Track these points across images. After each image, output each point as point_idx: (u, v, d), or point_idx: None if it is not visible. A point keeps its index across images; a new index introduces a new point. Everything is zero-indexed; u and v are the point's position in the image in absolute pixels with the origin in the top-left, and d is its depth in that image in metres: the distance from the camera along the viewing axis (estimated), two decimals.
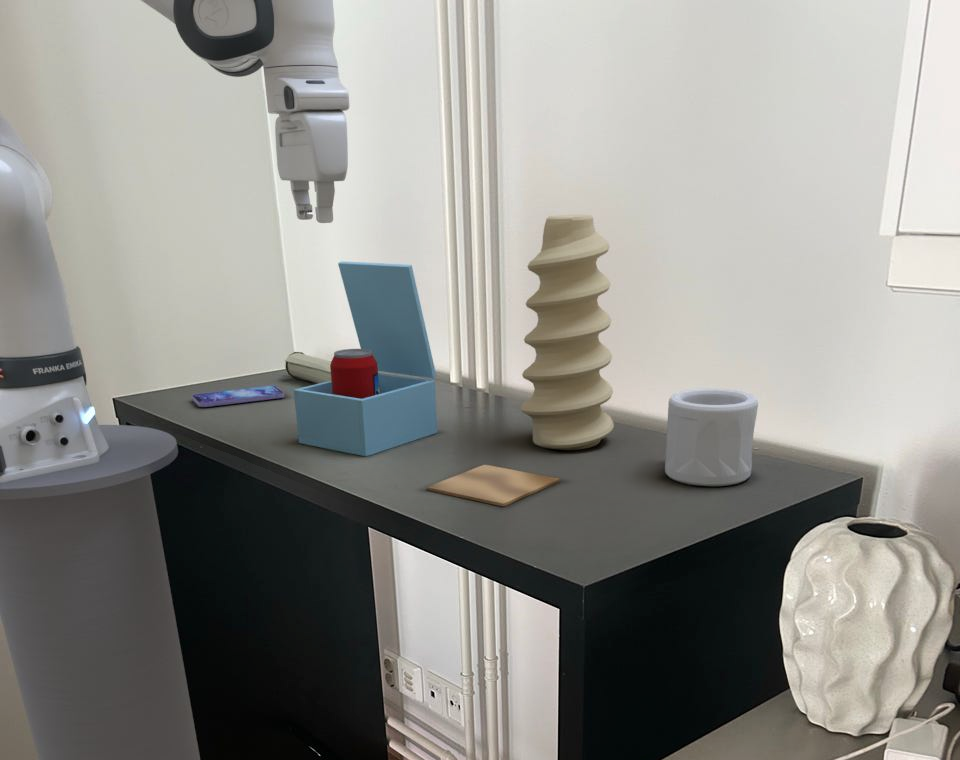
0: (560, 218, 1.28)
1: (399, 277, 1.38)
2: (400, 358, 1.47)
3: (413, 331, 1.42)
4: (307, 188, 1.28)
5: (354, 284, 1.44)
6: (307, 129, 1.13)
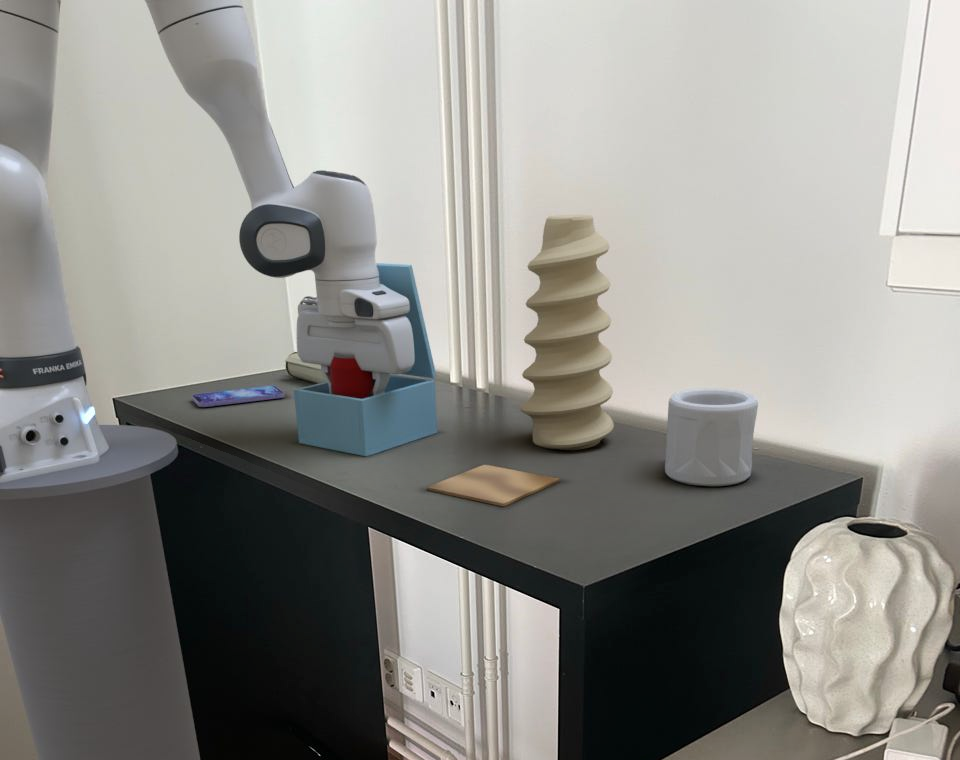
0: (560, 218, 1.28)
1: (399, 277, 1.38)
2: None
3: (413, 331, 1.42)
4: None
5: None
6: (388, 334, 1.33)
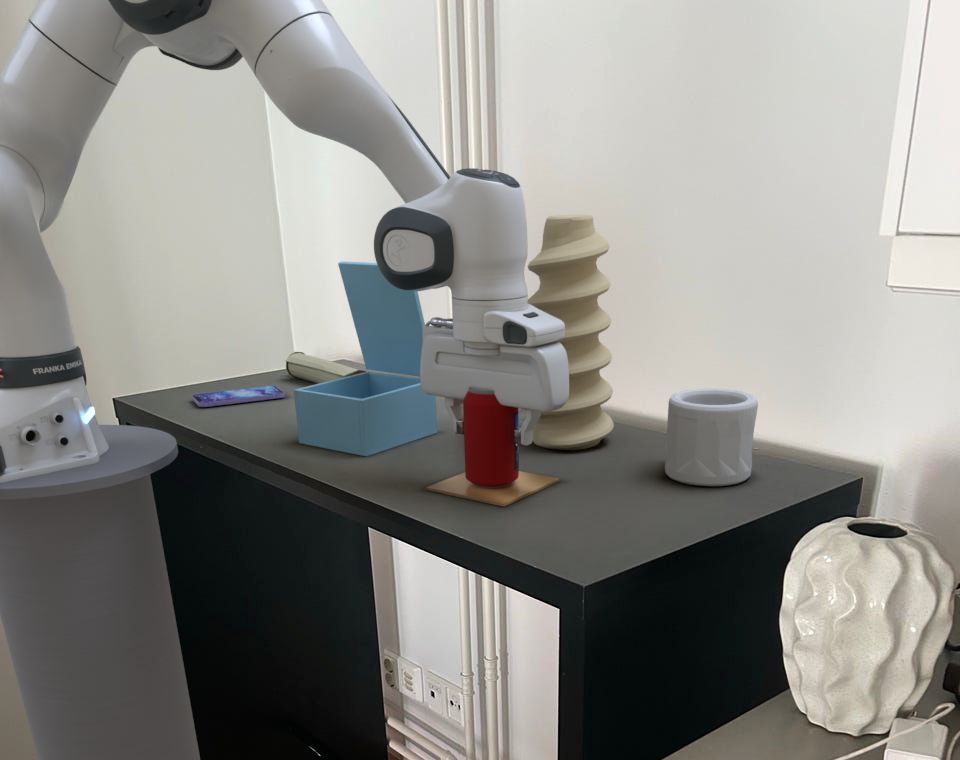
0: (560, 218, 1.28)
1: None
2: (400, 358, 1.47)
3: (413, 331, 1.42)
4: (462, 402, 1.24)
5: (354, 284, 1.44)
6: (543, 365, 1.11)
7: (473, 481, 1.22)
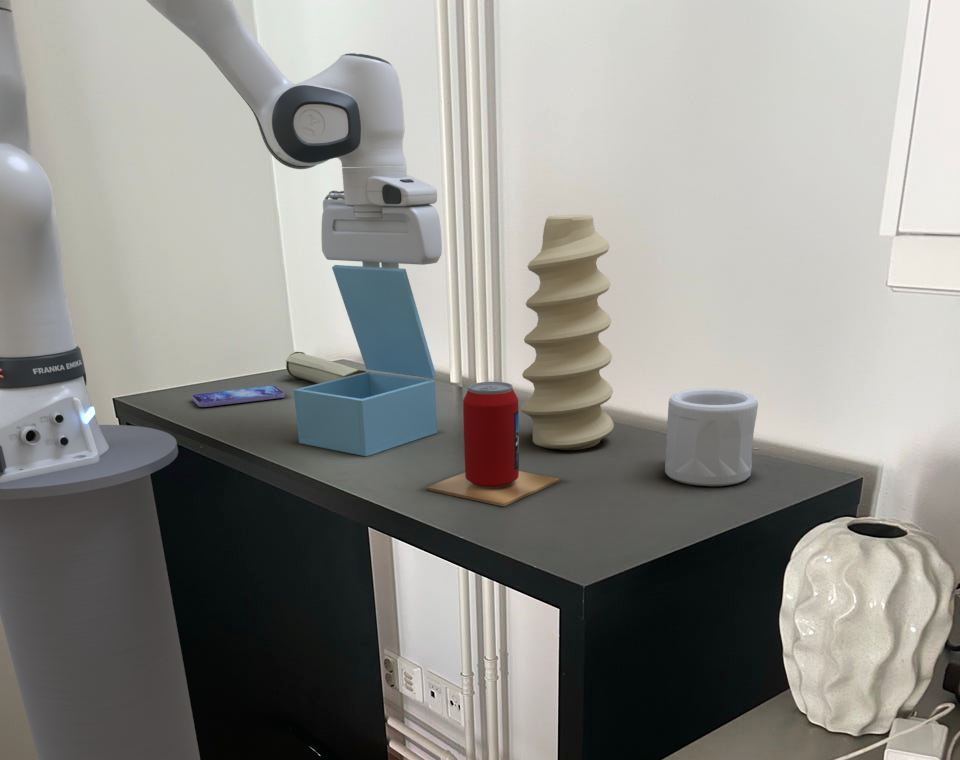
0: (560, 218, 1.28)
1: (394, 281, 1.37)
2: (399, 359, 1.47)
3: (410, 333, 1.42)
4: None
5: (349, 288, 1.43)
6: (416, 221, 1.32)
7: (473, 481, 1.22)
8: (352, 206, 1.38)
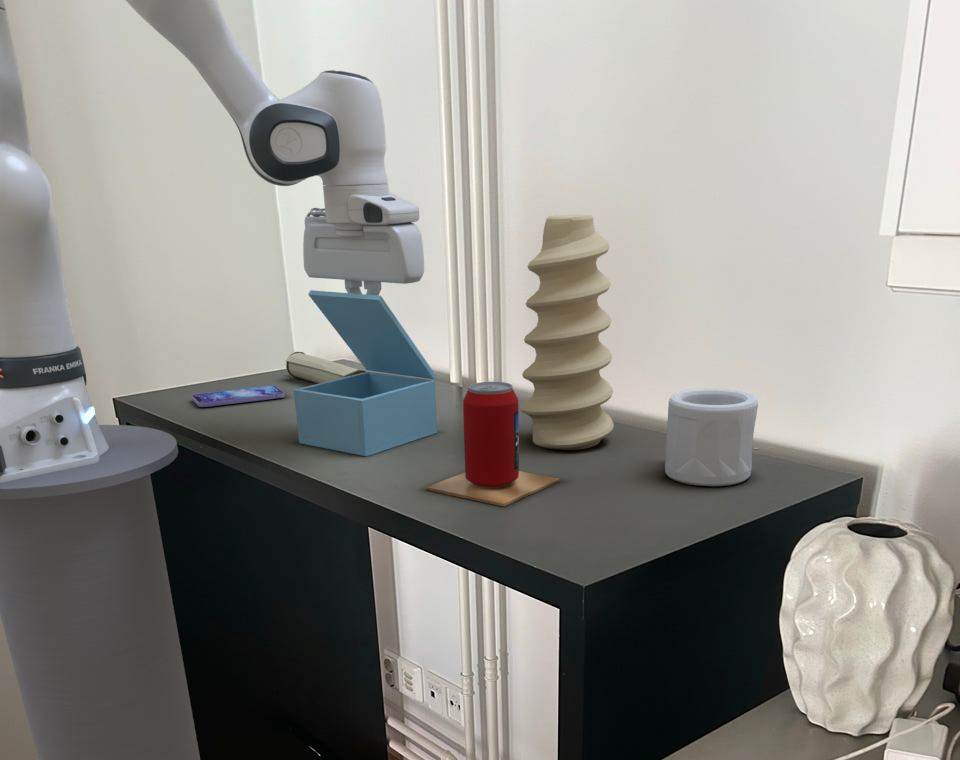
0: (560, 218, 1.28)
1: (372, 307, 1.35)
2: (396, 364, 1.47)
3: (401, 345, 1.41)
4: (361, 285, 1.41)
5: (330, 310, 1.42)
6: (397, 240, 1.30)
7: (473, 481, 1.22)
8: (334, 224, 1.36)
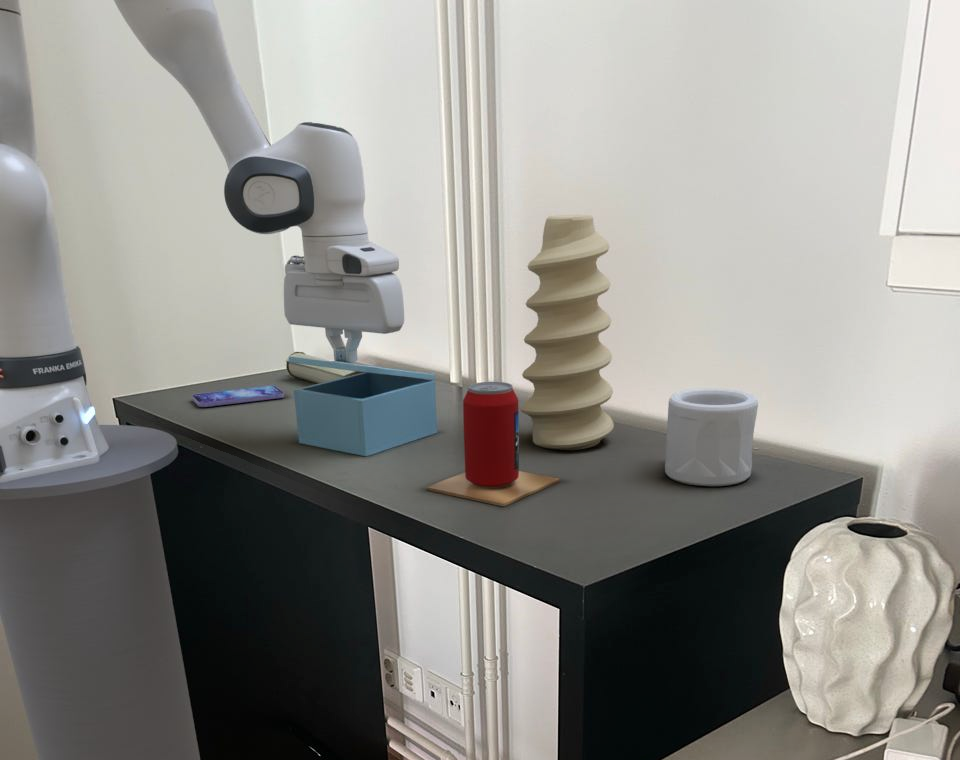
0: (560, 218, 1.28)
1: None
2: None
3: None
4: (341, 333, 1.40)
5: None
6: (377, 291, 1.29)
7: (473, 481, 1.22)
8: None
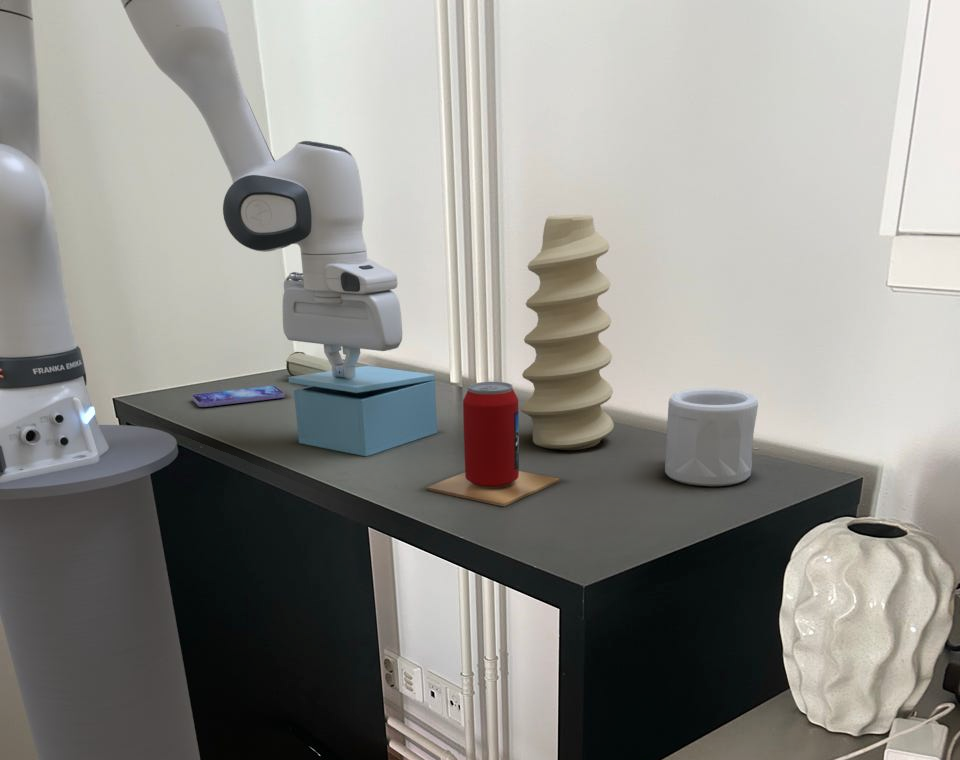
0: (560, 218, 1.28)
1: None
2: None
3: None
4: (340, 349, 1.40)
5: None
6: (375, 309, 1.30)
7: (473, 481, 1.22)
8: None
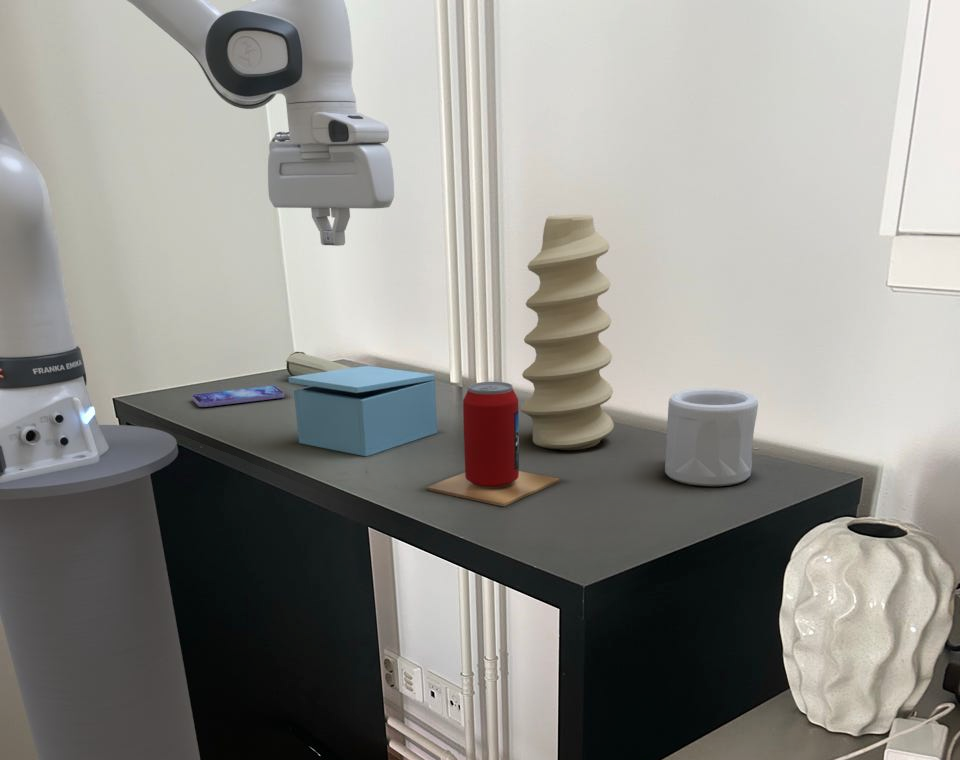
0: (560, 218, 1.28)
1: None
2: None
3: None
4: (328, 215, 1.33)
5: None
6: (365, 160, 1.22)
7: (473, 481, 1.22)
8: (299, 147, 1.28)
